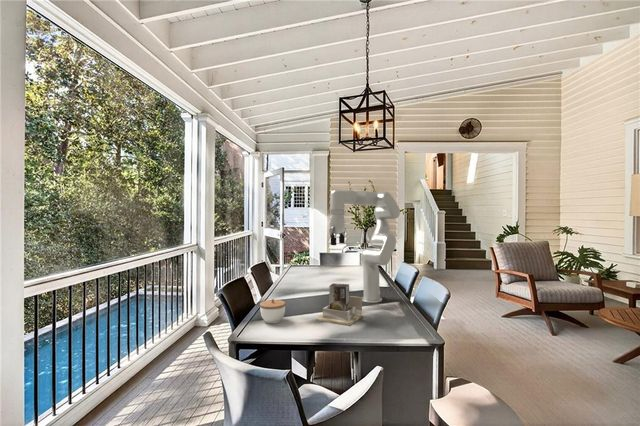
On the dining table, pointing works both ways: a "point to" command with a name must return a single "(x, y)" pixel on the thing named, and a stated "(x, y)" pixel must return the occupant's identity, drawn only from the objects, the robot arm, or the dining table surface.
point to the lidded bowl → (272, 310)
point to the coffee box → (339, 297)
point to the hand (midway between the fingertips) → (337, 244)
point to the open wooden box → (343, 313)
